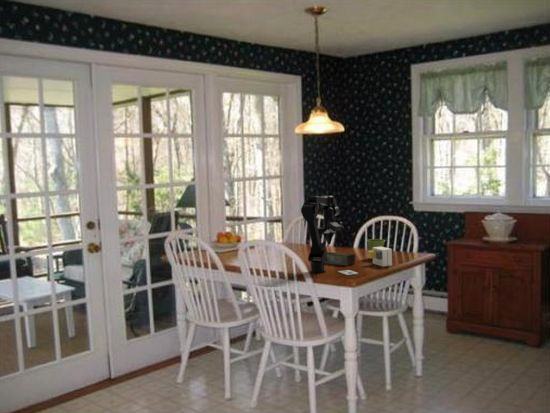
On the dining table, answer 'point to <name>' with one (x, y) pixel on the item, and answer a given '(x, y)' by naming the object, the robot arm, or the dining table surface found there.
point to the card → (348, 272)
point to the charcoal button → (379, 255)
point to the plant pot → (375, 243)
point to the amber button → (371, 254)
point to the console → (383, 256)
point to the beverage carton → (340, 258)
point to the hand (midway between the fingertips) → (329, 244)
